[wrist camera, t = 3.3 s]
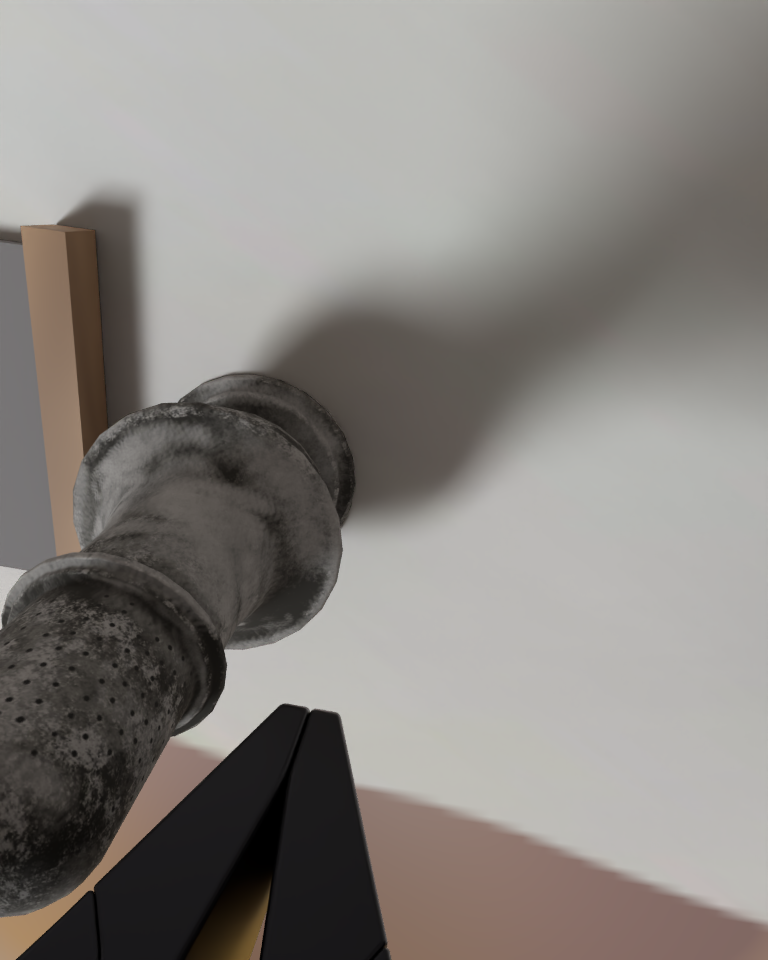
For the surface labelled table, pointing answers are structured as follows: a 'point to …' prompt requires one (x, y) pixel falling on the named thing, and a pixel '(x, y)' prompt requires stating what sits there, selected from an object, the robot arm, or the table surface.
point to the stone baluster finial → (156, 608)
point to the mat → (21, 427)
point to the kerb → (66, 358)
